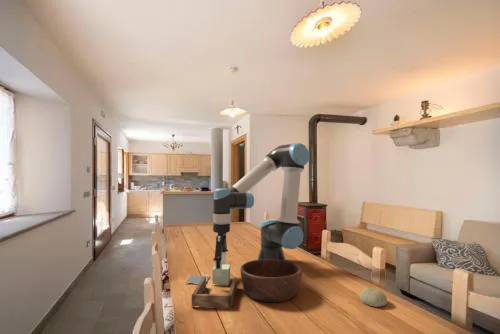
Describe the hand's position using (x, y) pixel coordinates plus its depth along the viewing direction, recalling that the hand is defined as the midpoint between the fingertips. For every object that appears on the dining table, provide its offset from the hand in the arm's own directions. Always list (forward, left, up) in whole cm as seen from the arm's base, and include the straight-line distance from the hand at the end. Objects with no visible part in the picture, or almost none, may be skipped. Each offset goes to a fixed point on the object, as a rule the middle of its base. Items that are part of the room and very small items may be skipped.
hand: (220, 270), depth 129 cm
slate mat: (+11, -2, -5) cm, 12 cm away
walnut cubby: (0, +15, -5) cm, 15 cm away
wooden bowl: (-22, +10, -6) cm, 25 cm away
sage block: (0, -1, -5) cm, 5 cm away
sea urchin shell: (-60, +18, -6) cm, 63 cm away
